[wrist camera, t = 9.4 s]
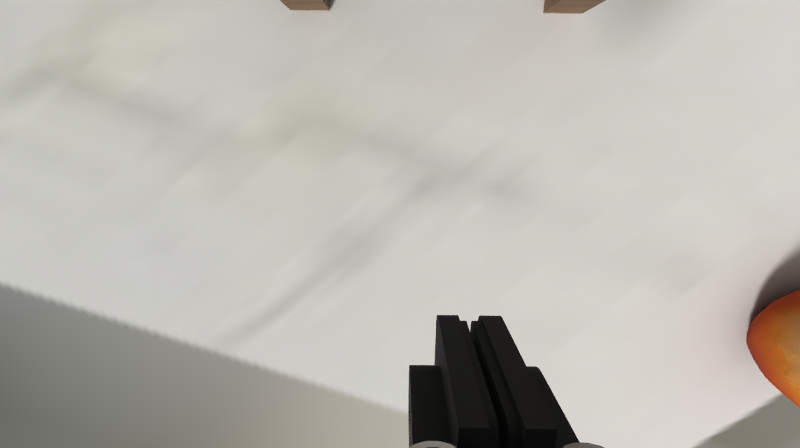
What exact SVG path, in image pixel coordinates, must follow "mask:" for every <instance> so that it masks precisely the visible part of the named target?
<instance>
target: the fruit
mask: <svg viewBox="0 0 800 448" xmlns="http://www.w3.org/2000/svg"><path fill="white" fill-rule="evenodd" d="M746 341H747V345H748V348H749V350H750V353H751V355H752V357H753V359H754V361H755V362H756V364H757V365H758V367H759V369H760V370H761V372H762V373H763V374H764V376H765V377H766V378H767V379H768V380H769V381H770V382H771V383H772V384H773V385H774V386H775V387H776V388H777V389H778V390H780V391H781V392H782V393H783V394H784V395H786V396H787V397H788V398H789V399H790V400H791V401H792V402H793V403H795V404H796V405H797V406H799V407H800V290H797V291H795V292H792V293H790V294H787V295H785V296H783V297H781V298H779V299H777V300H775V301H774V302H772V303H771V304H769V305H768V306H767V307H766V308H765V309H764V310H763V311H762V312H760V313H759V314H758V315H757V317H756V318H755V319H754V320H753V321H752V322H751V325H750V327H749V329H748V332H747V339H746Z"/></svg>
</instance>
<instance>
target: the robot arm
mask: <svg viewBox="0 0 800 448" xmlns="http://www.w3.org/2000/svg"><path fill="white" fill-rule="evenodd" d="M409 448H604V447H602V446H599V445H595V444H590V443H580V442H579V440H578V439H577V437H576V435H575V433H574V431H573V429H572V428H571V426H570V424H569V422H568V420H567V418H566V417H565V415H564V413H563V411H562V409H561V407H560V406H559V404H558V402H557V400H556V398H555V396H554V395H553V393H552V391H551V389H550V387H549V385H548V384H547V382H546V380H545V378H544V376H543V374H542V373H541V371H540V370H539V368H537V367H526V365H525V363H524V361H523V359H522V357H521V355H520V353H519V351H518V349H517V347H516V345H515V343H514V341H513V339H512V337H511V335H510V333H509V331H508V329H507V327H506V325H505V323H504V321H503V319H502V317H501V316H479V318H478V321H472V322H471V330H470V331H469V328H468V325H467V322H466V321H460V320H459V317H458V315H437V320H436V344H435V365H410V366H409Z"/></svg>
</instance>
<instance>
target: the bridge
mask: <svg viewBox="0 0 800 448" xmlns="http://www.w3.org/2000/svg"><path fill="white" fill-rule="evenodd" d="M280 1H281V2H283V3H284V4H285V5H286V6H287V7H288V8H289V9H290V10H329V0H280ZM604 1H605V0H545V2H544V13H584V12H586V11H587V10H589V9H591V8H593V7H595V6H596V5H598V4H600V3H602V2H604Z"/></svg>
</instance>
